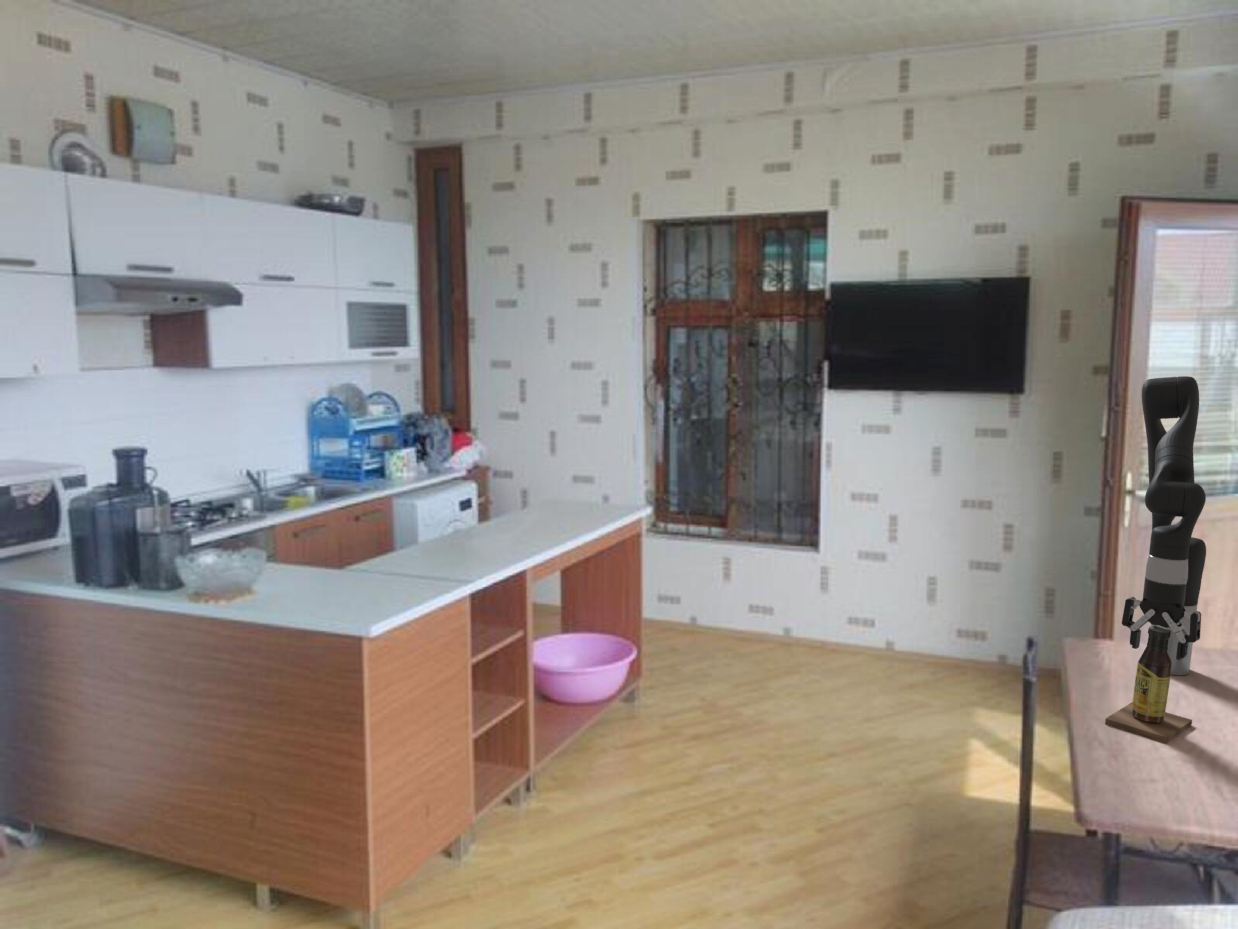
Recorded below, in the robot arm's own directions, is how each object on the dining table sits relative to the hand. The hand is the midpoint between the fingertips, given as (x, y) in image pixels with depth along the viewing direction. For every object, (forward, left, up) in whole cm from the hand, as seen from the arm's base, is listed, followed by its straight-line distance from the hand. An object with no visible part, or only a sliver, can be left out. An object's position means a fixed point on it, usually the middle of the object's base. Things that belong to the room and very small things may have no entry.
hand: (1157, 653), depth 203 cm
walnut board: (0, 0, -16) cm, 16 cm away
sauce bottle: (0, 0, -15) cm, 15 cm away
